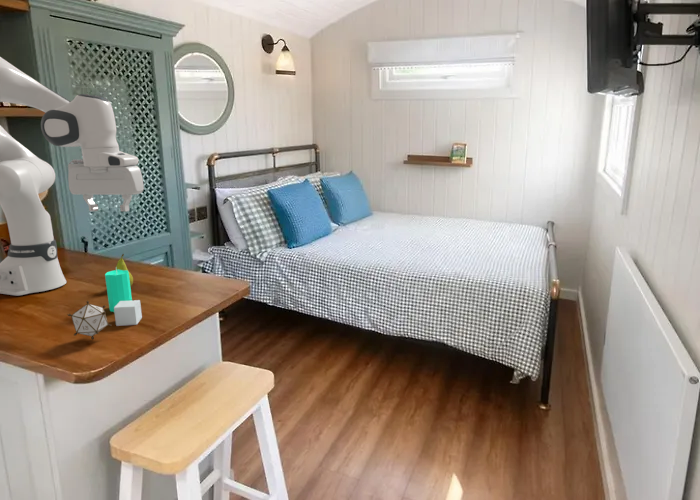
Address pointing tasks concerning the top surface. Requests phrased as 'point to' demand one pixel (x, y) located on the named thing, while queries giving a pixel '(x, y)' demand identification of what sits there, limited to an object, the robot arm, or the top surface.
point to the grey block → (128, 312)
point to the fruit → (124, 268)
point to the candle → (118, 287)
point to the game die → (89, 320)
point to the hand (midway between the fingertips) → (109, 211)
